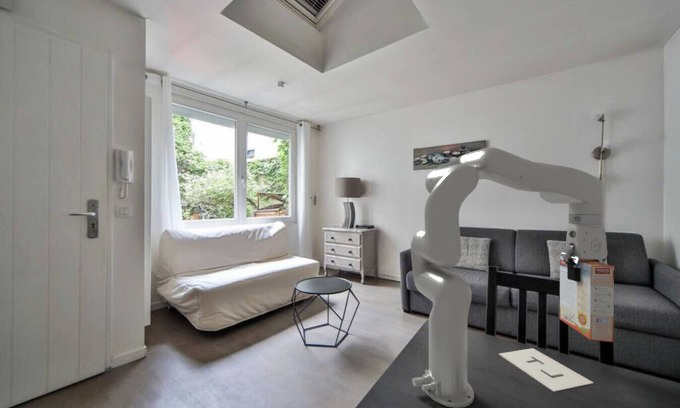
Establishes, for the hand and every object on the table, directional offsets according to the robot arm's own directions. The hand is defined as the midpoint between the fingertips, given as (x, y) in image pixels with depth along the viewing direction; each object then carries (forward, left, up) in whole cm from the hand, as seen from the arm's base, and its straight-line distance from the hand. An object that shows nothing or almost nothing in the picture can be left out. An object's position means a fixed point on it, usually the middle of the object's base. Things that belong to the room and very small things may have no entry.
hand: (584, 279), depth 80 cm
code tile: (-11, +4, -27) cm, 30 cm away
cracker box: (0, 0, -15) cm, 15 cm away
